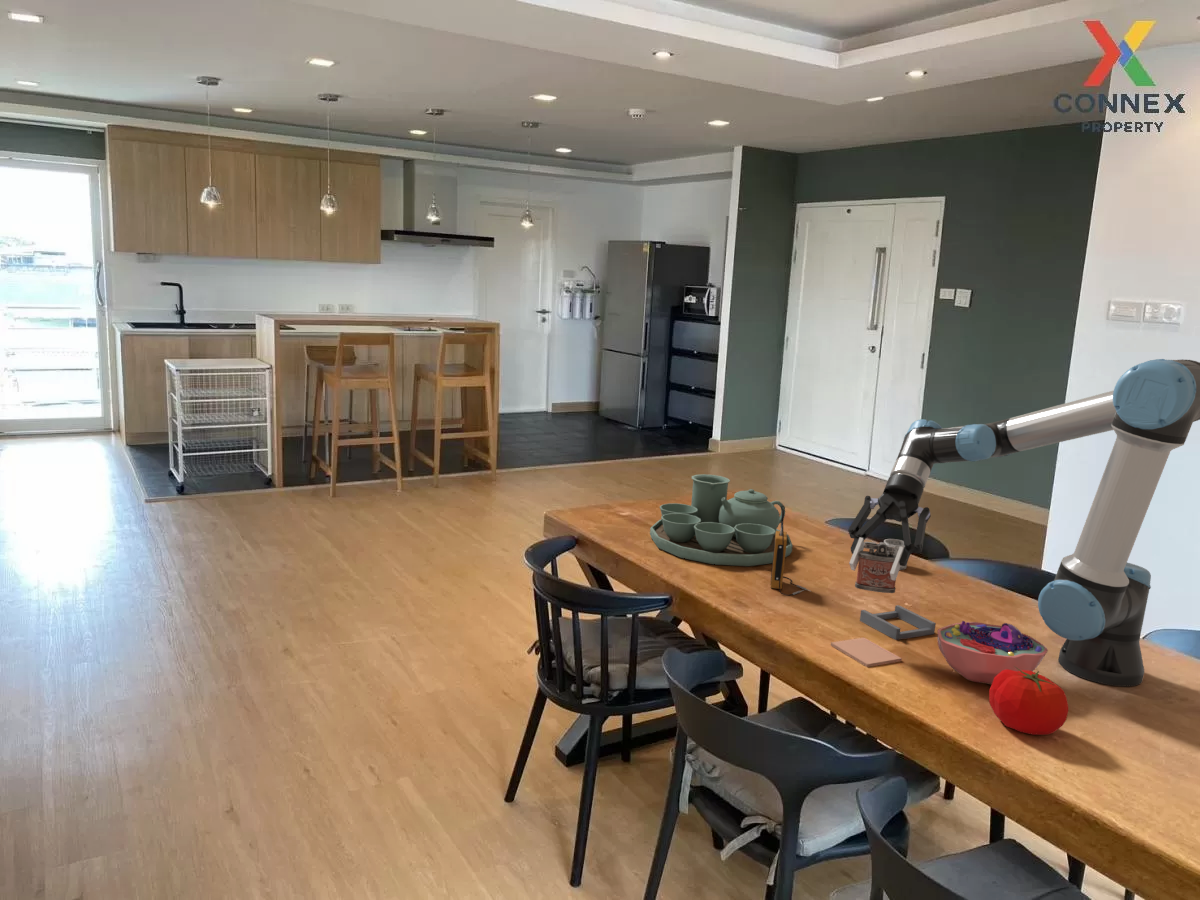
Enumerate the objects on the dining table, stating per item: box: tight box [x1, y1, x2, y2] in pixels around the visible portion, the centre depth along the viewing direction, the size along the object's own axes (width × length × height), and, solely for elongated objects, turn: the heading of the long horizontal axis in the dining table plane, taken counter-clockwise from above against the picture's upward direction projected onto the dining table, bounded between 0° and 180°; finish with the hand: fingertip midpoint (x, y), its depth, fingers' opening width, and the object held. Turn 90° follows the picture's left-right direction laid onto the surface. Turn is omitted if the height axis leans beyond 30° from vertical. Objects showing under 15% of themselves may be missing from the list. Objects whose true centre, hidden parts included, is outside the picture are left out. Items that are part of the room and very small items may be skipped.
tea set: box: [649, 474, 793, 567], centre depth 249 cm, size 40×40×16 cm
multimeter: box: [770, 504, 811, 597], centre depth 217 cm, size 15×10×20 cm
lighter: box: [854, 540, 897, 594], centre depth 182 cm, size 8×3×10 cm, turn 77°
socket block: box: [859, 604, 937, 641], centre depth 196 cm, size 11×11×2 cm
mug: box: [873, 538, 908, 571], centre depth 240 cm, size 10×7×7 cm, turn 84°
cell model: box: [937, 620, 1048, 685], centre depth 171 cm, size 17×20×11 cm
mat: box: [830, 637, 903, 668], centre depth 181 cm, size 11×9×1 cm
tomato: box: [988, 666, 1069, 736], centre depth 152 cm, size 11×13×10 cm
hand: (872, 571), depth 179 cm, fingers closed on lighter, 8 cm apart
